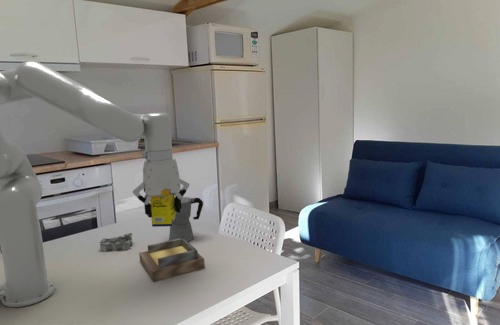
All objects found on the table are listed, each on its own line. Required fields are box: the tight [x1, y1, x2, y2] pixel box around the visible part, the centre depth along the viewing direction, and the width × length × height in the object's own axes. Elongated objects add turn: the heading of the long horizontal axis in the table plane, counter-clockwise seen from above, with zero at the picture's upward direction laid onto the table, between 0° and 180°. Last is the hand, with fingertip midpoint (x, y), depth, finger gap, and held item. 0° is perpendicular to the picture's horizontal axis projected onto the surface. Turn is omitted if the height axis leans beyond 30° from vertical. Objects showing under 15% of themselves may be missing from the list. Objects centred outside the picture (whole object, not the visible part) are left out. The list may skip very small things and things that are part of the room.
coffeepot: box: [168, 196, 204, 243], centre depth 138 cm, size 15×9×18 cm, turn 92°
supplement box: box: [150, 189, 176, 228], centre depth 111 cm, size 6×6×11 cm
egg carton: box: [98, 232, 133, 252], centre depth 134 cm, size 11×8×4 cm
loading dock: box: [138, 238, 206, 282], centre depth 118 cm, size 16×16×6 cm
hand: (163, 213), depth 111 cm, fingers closed on supplement box, 8 cm apart
